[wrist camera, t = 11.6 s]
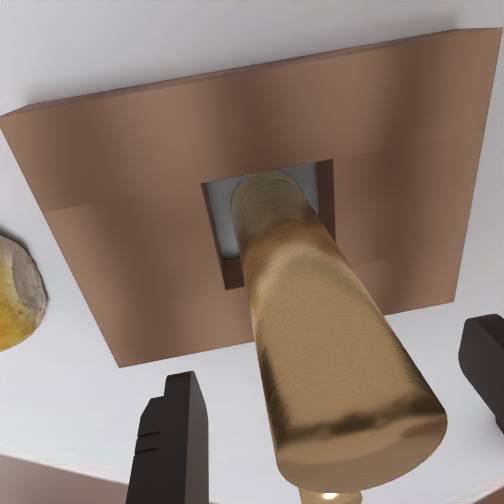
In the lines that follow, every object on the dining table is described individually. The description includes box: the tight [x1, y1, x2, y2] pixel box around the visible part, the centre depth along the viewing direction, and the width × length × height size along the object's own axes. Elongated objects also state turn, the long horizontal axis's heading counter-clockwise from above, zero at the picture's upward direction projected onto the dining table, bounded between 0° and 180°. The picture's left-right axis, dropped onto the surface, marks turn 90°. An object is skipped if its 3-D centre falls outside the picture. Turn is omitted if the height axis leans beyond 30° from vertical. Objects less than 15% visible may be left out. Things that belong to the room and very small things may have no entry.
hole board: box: [0, 28, 503, 368], centre depth 19 cm, size 20×14×3 cm
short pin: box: [298, 487, 362, 504], centre depth 27 cm, size 4×4×7 cm
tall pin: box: [231, 170, 448, 494], centre depth 14 cm, size 4×4×14 cm
